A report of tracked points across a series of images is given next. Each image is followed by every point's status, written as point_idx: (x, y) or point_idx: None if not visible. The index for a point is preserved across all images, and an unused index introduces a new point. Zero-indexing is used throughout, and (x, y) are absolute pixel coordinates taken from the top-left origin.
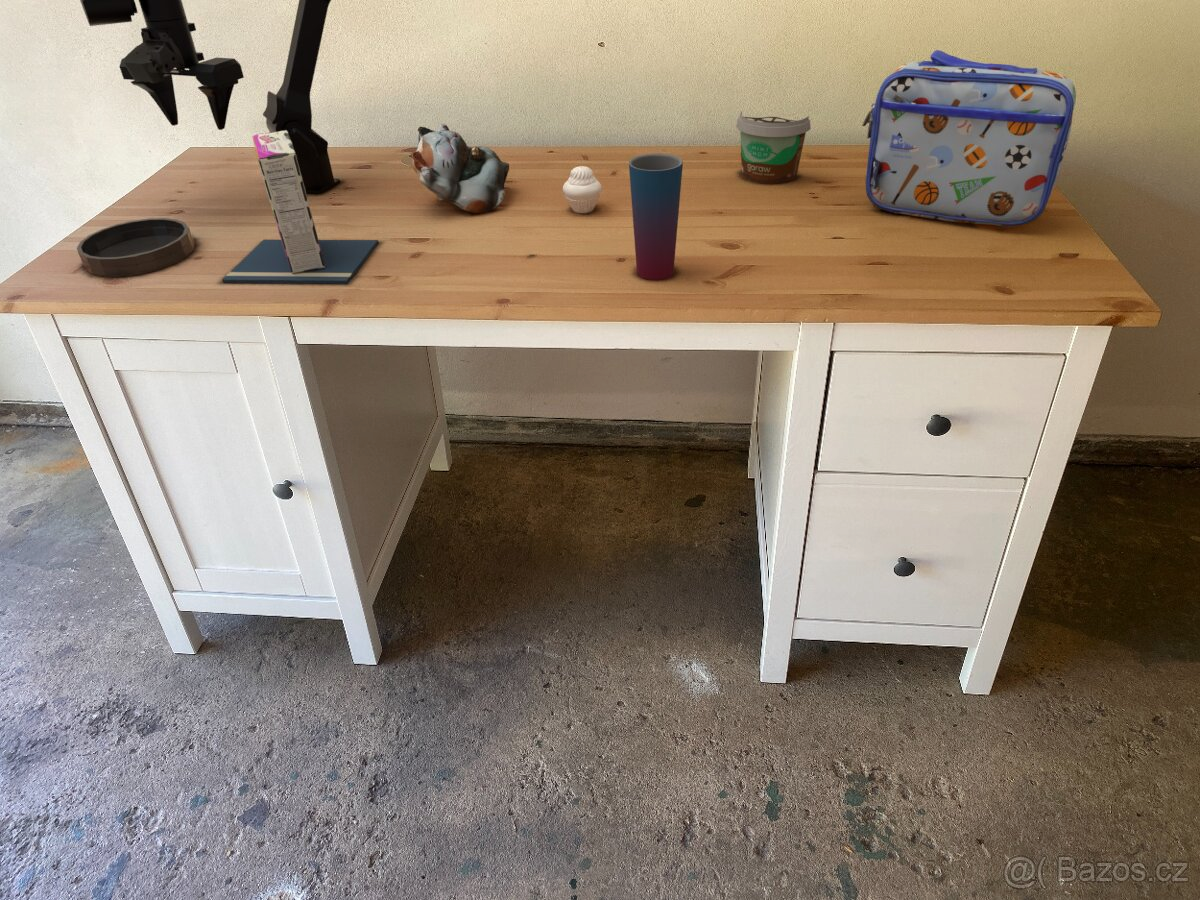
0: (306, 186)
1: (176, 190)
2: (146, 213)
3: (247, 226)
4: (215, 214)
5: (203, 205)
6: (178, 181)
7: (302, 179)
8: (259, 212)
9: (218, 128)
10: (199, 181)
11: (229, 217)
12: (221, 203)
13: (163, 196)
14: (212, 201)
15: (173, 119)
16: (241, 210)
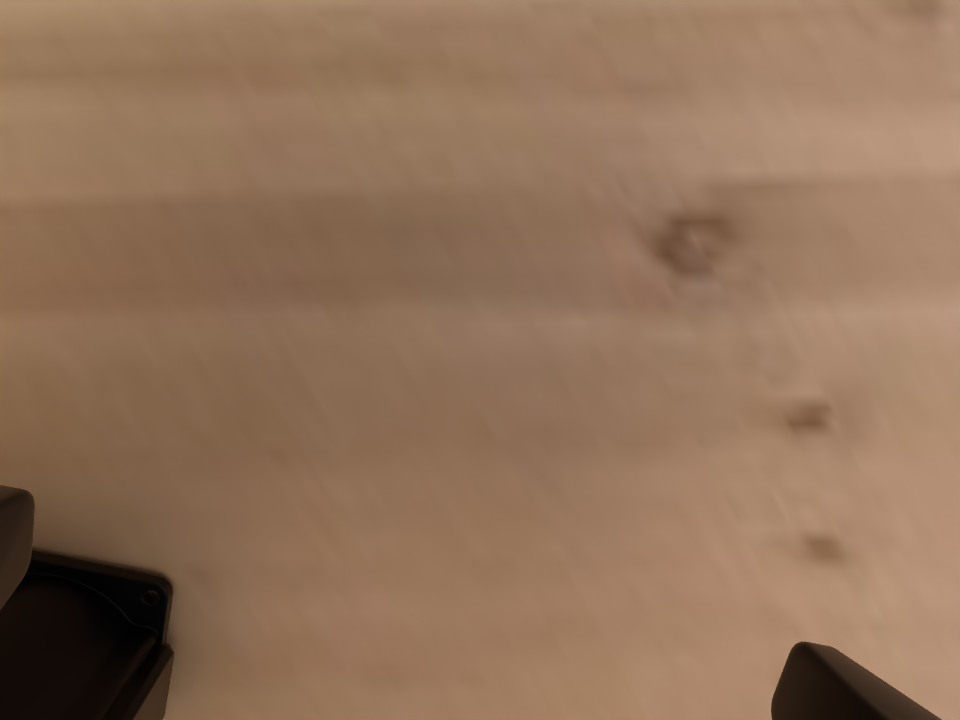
0: (35, 583)
1: (860, 574)
2: (883, 220)
3: (114, 24)
4: (432, 218)
5: (583, 357)
6: None
7: (27, 608)
8: (171, 258)
9: (4, 487)
10: None
11: (316, 172)
12: (487, 391)
13: (897, 485)
14: (559, 419)
15: (818, 716)
16: (303, 287)
